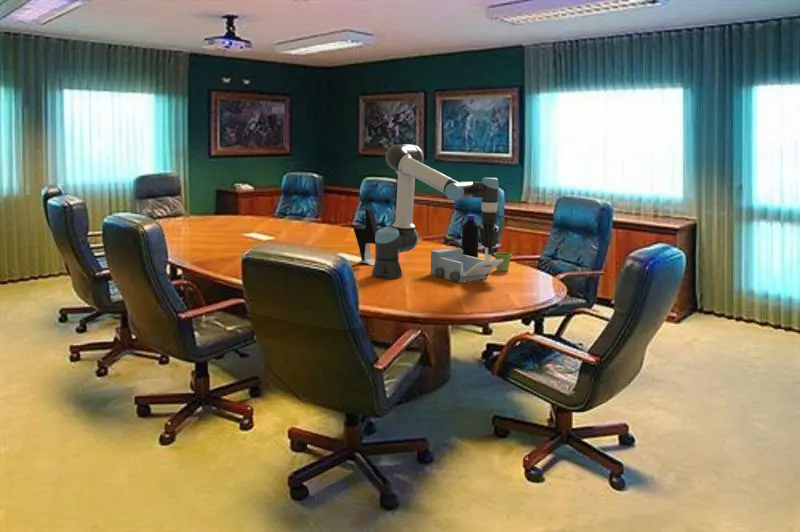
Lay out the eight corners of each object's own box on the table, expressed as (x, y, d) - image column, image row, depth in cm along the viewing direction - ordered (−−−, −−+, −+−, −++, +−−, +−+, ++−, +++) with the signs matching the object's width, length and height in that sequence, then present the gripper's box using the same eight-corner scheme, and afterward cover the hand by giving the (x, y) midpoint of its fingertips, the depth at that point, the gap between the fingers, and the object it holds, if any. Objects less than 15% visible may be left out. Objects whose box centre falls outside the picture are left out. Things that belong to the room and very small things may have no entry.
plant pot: (515, 270, 370) (515, 254, 368) (504, 272, 363) (505, 256, 362) (500, 267, 376) (500, 251, 375) (489, 270, 369) (490, 254, 368)
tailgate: (462, 278, 338) (479, 264, 327) (461, 276, 339) (478, 261, 327) (486, 275, 346) (503, 261, 335) (485, 272, 347) (502, 258, 335)
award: (381, 264, 382) (381, 209, 376) (376, 266, 377) (376, 210, 372) (358, 261, 390) (358, 207, 384) (353, 263, 385) (353, 208, 380)
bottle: (467, 265, 382) (468, 213, 377) (480, 267, 377) (482, 215, 372) (457, 267, 376) (459, 215, 370) (471, 269, 370) (473, 216, 365)
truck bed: (456, 283, 338) (457, 258, 335) (426, 274, 357) (427, 251, 355) (489, 278, 349) (490, 254, 347) (458, 270, 368) (459, 247, 366)
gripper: (505, 212, 325) (503, 262, 330) (486, 209, 336) (484, 258, 340) (492, 213, 321) (491, 264, 326) (474, 210, 332) (472, 259, 336)
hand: (488, 261), depth 333 cm, fingers closed
